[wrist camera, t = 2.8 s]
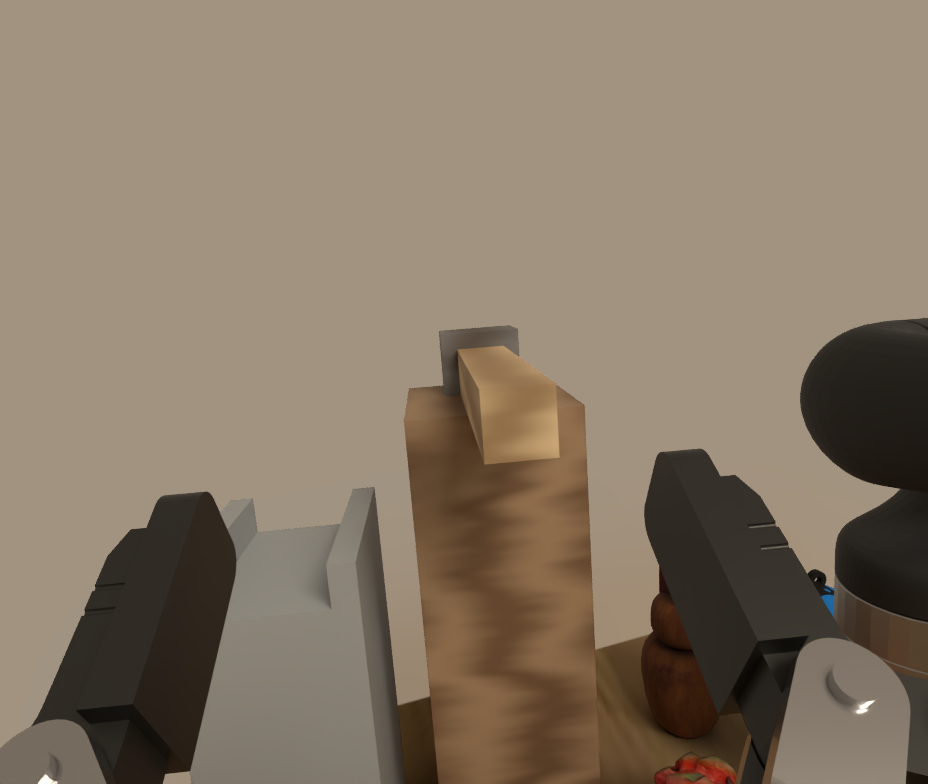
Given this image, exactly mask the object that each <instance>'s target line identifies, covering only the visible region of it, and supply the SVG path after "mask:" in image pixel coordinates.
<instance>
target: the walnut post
mask: <svg viewBox="0 0 928 784" xmlns="http://www.w3.org/2000/svg"><path fill="white" fill-rule="evenodd" d="M556 397H557V417H558V436H559V456H560V458H550V459H539V460H528V461H517V462H506V463H496V464H484V461H483V458H482V455H481V452H480V450H479V447H478V444H477V441H476V438H475V435H474V432H473V429H472V426H471V423H470V420H469V417H468V415H467V412H466V409H465V406H464V403H463V400H462V397H461V395H456V396H445V391H444V386H433V387H422V388H410V389H409V392H408V399H407V405H406V412H405V418H404V425H405V436H406V447H407V457H408V467H409V478H410V488H411V499H412V509H413V520H414V531H415V541H416V552H417V562H418V573H419V583H420V594H421V604H422V615H423V625H424V636H425V646H426V655H427V656H426V657H427V667H428V678H429V688H430V699H431V709H432V720H433V730H434V741H435V751H436V762H437V772H438V783H439V784H601V779H600V756H599V732H598V709H597V686H596V663H595V640H594V618H593V593H592V571H591V547H590V523H589V501H588V477H587V456H586V455H587V454H586V432H585V407H584V404H582V403H581V402H579V401H578V400H576V399H575V398H574V397H572V396H571V395H570V394H568V393H567V392H566V391H564V390H563V389H561V388H560V387H559V386H557V385H556Z"/></svg>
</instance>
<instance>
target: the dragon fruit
mask: <svg viewBox="0 0 928 784" xmlns="http://www.w3.org/2000/svg"><path fill="white" fill-rule="evenodd" d="M736 777H737V775H736V772H735V769H734V767H733V766H732V765H730V764H728V763H727V762H726V761H724V760H723V759H721V758H719V757H716V756H713V755H712V756H708V757H702V758H700V757H698V756H697V755H696V754H694V753H693V752H689V753H687V754H685V755H683V756H682V757H681V758H679V760H677V761H676V764H675V766H671V767H666V768H663V769H661V770H660V771H658V772H657V773H656V774H655V776H654V780H655V783H656V784H735V781H736Z"/></svg>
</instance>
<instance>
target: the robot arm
mask: <svg viewBox="0 0 928 784" xmlns="http://www.w3.org/2000/svg"><path fill="white" fill-rule="evenodd" d="M800 403H801V411H802V415H803V418H804V421H805V424H806V427H807V429H808V431H809V433H810V434H811V436H812V438H813V440H814V441H815V443H816V444H817V445H818V446H819V448H820V449H821V451H822V452H823V453H824V454H825V455H826V456H827V457H828V458H829V459H830V460H831V461H832V462H833V463H835V464H836V465H837V466H839V467H840V468H841V469H843V470H844V471H845V472H847V473H849V474H850V475H852V476H854V477H856V478H858V479H861V480H863V481H866V482H869V483H873V484H877V485H882V486H888V487H893V488H899V489H900V490H899V491H898V492H897V493H896V494H895V495H894V496H893V497H891V498H890V499H889V500H887V501H886V502H885V503H883V504H881V505H880V506H878V507H876V508H874V509H872V510H871V511H869V512H867V513H865V514H863V515H861V516H859V517H857V518H855V519H853V520H852V521H850V522H849V523H847V524H846V525H845V526H844V527H843V528H842V530H841V531H840V533H839V535H838V538H837V542H836V549H835V586H834V587H835V588H834V617H833V616H832V614H831V612H830V611H829V609H828V607H827V606H826V604H825V602H824V601H823V599H822V597H821V596H820V594H819V592H818V591H817V589H816V588H815V586H814V584H813V583H812V581H811V579H810V578H809V576H808V574H807V573H806V571H805V570H804V568H803V566H802V564H801V563H800V561H799V560H798V558H797V556H796V555H795V553H794V551H793V550H792V548H789V546H788V541H787V540H786V538H785V536H784V535H783V533H782V532H781V530H780V528H779V527H776V525H775V520H774V518H773V517H772V515H771V514H770V512H769V510H768V508H767V507H766V505H765V504H764V502H763V500H762V499H761V497H760V496H759V495H758V494H757V493H756V492H755V491H753V490H752V489H751V488H750V487H749V486H747V485H746V484H745V483H744V482H743V481H742V480H740V479H739V478H738V477H737V476H736V475H732V476H720V475H719V473H718V471H717V469H716V467H715V466H714V464H713V462H712V460H711V459H710V457H709V455H708V454H707V453H706V452H705V451H704V450H703V449H691V450H680V451H670V452H660V453H659V454H658V455H657V457H656V461H655V465H654V469H653V474H652V478H651V482H650V486H649V490H648V495H647V499H646V503H645V510H644V517H645V526H646V531H647V535H648V538H649V541H650V543H651V546H652V548H653V551H654V554H655V556H656V559H657V561H658V564H659V566H660V569H661V571H662V574H663V576H664V579H665V581H666V584H667V586H668V589H669V592H670V594H671V597H672V599H673V602H674V604H675V607H676V609H677V612H678V614H679V617H680V619H681V622H682V625H683V627H684V630H685V632H686V635H687V637H688V640H689V642H690V645H691V647H692V650H693V652H694V655H695V657H696V660H697V663H698V665H699V668H700V670H701V673H702V675H703V678H704V680H705V683H706V685H707V688H708V690H709V693H710V695H711V698H712V701H713V703H714V706H715V708H716V711H717V713H718V715H724V714H733V713H741V714H742V716H743V719H744V721H745V723H746V726H747V728H748V730H749V733H748V736H747V738H746V742H745V746H744V750H743V753H742V757H741V761H740V765H739V769H738V773H737V777H736V781H735V784H928V318H922V319H909V320H895V321H885V322H879V323H873V324H867V325H863V326H860V327H857V328H854V329H851V330H849V331H847V332H844V333H842V334H841V335H839V336H837V337H836V338H834V339H833V340H831V341H830V342H829V343H827V344H826V345H825V346H824V347H823V348H822V349H821V350H820V351H819V352H818V353H817V355H816V356H815V358H814V359H813V360H812V361H811V363H810V365H809V367H808V369H807V371H806V373H805V375H804V379H803V382H802V386H801V393H800ZM235 576H236V551H235V546H234V543H233V540H232V538H231V536H230V534H229V532H228V529H227V527H226V525H225V523H224V521H223V518H222V516H221V514H220V512H219V510H218V507H217V505H216V503H215V501H214V499H213V497H212V495H211V494H210V493H209V492H198V493H188V494H176V495H165V496H162V497H161V498H160V499H159V500H158V501H157V503H156V505H155V507H154V510H153V512H152V515H151V518H150V520H149V523H148V525H147V528H141V529H131V530H130V531H129V532H128V533H127V534H126V536H125V537H124V538H123V539H122V540H121V541H120V542H119V544H118V545H117V546H116V547H115V549H114V550H112V552H111V553H110V554H109V555H108V556H107V559H106V561H105V563H104V566H103V568H102V570H101V572H100V575H99V577H98V579H97V582H96V584H95V588H96V589H95V591H92V593H91V596H90V598H89V600H88V603H87V605H86V607H85V615H84V616H81V619H80V621H79V623H78V626H77V628H76V630H75V633H74V635H73V637H72V640H71V642H70V644H69V647H68V649H67V651H66V654H65V656H64V658H63V661H62V663H61V665H60V667H59V670H58V672H57V674H56V677H55V679H54V681H53V684H52V686H51V688H50V690H49V693H48V695H47V697H46V700H45V702H44V704H43V707H42V709H41V711H40V713H39V715H38V717H37V718H36V720H35V721H34V723H33V725H32V726H31V727H29V728H27V729H26V730H24V731H22V732H21V733H19V734H17V735H16V736H15V737H13V738H12V739H11V740H9V741H8V742H7V743H6V744H5V745H3V746H2V747H1V748H0V784H163V780H164V776H165V774H169V773H178V772H187V771H191V766H192V762H193V758H194V753H195V749H196V745H197V740H198V736H199V732H200V727H201V723H202V719H203V715H204V710H205V706H206V702H207V697H208V693H209V689H210V684H211V680H212V676H213V671H214V667H215V663H216V658H217V654H218V650H219V645H220V641H221V637H222V633H223V628H224V624H225V620H226V615H227V611H228V607H229V602H230V598H231V594H232V589H233V585H234V581H235Z"/></svg>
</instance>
